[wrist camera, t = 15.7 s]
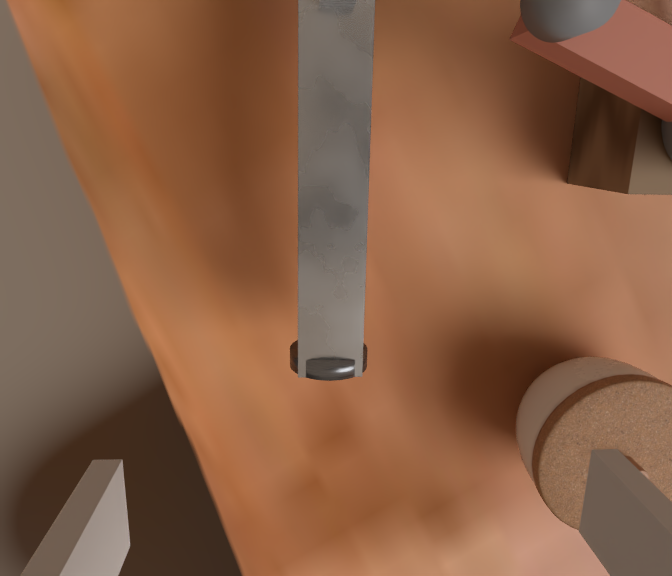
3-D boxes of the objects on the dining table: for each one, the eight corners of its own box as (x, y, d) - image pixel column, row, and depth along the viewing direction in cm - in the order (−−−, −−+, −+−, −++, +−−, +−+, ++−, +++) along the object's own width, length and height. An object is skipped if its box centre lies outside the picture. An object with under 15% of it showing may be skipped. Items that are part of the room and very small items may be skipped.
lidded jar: (481, 358, 40) (535, 423, 31) (626, 317, 40) (723, 370, 30) (508, 482, 43) (565, 576, 33) (643, 444, 42) (736, 528, 33)
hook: (289, -13, 29) (287, -48, 23) (374, -10, 29) (392, -44, 23) (290, 350, 34) (289, 391, 28) (362, 349, 34) (374, 390, 29)
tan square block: (583, 53, 34) (653, 33, 28) (705, 57, 35) (803, 38, 28) (567, 183, 37) (628, 193, 30) (682, 185, 37) (767, 195, 30)
